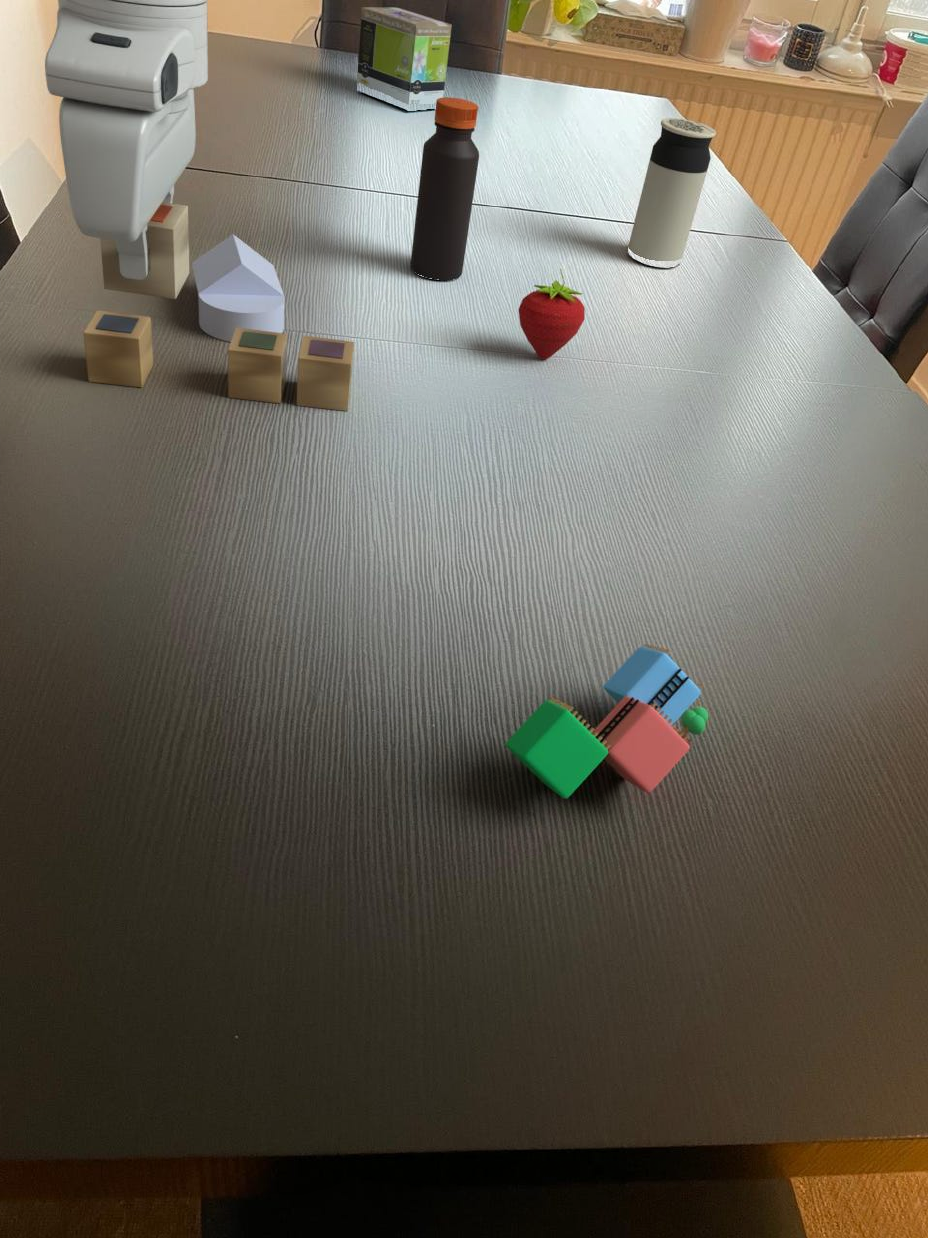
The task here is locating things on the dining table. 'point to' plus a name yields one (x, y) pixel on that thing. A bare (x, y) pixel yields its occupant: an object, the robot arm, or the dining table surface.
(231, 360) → the beech block
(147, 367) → the beech block
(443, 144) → the bottle
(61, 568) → the dining table surface
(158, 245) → the maple block
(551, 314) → the strawberry
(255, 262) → the wedge on round base
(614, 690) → the building blocks
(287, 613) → the dining table surface
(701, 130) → the travel mug
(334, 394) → the beech block
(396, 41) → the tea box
